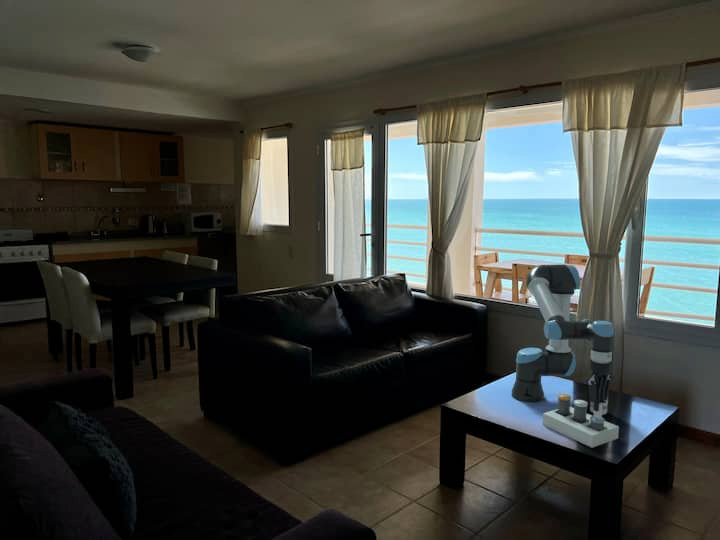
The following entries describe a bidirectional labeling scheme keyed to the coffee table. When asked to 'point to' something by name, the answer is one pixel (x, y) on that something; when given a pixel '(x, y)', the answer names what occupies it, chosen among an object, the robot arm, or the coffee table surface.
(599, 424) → the knob
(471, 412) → the coffee table surface
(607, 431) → the mount
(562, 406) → the knob
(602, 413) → the bath foam
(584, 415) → the knob
